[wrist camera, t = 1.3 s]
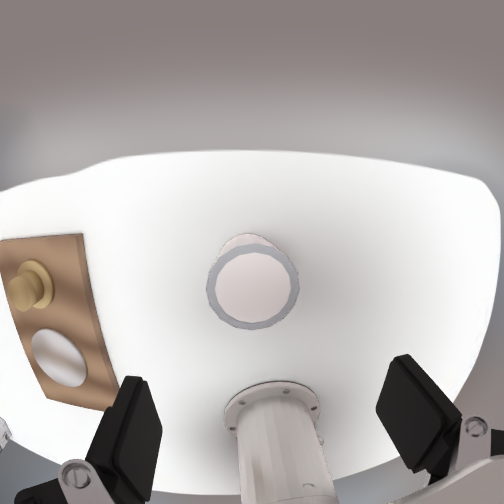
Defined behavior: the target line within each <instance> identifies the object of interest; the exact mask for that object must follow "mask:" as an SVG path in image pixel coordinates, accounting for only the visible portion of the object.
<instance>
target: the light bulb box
mask: <svg viewBox="0 0 504 504" xmlns="http://www.w3.org/2000/svg"><path fill="white" fill-rule="evenodd" d="M10 437H11V433H10V431H9V429H8V427H7V425H6V423H5V421H4V420H3V419H1V418H0V453H1V451H2V450H3V448H4V446H5V445H6V443H7V441H8V440H9V438H10Z"/></svg>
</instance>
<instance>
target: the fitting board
mask: <svg viewBox="0 0 504 504" xmlns="http://www.w3.org/2000/svg"><path fill="white" fill-rule="evenodd" d="M0 273H1V277H2V281H3V286H4V290H5V293H6V297H7V301H8V304H9V308H10V311H11V314H12V317H13V320H14V323H15V326H16V329H17V332H18V335H19V338H20V340H21V343H22V345H23V348H24V351H25V353H26V355H27V358H28V360H29V362H30V365H31V367H32V369H33V371H34V374H35V376H36V378H37V380H38V382H39V384H40V386H41V388H42V390H43V392H44V394H45V396H46V398H48V399H51V400H55V401H59V402H62V403H66V404H70V405H75V406H79V407H84V408H88V409H93V410H99V411H104V412H105V410H106V409H107V407H109V406H112V405H113V403H114V401H115V399H116V396H117V394H118V392H119V386H118V383H117V380H116V378H115V375H114V372H113V369H112V366H111V363H110V360H109V356H108V353H107V350H106V347H105V343H104V340H103V336H102V332H101V329H100V325H99V321H98V317H97V313H96V309H95V304H94V300H93V295H92V290H91V285H90V280H89V274H88V269H87V263H86V256H85V249H84V242H83V234H69V235H56V236H43V237H31V238H20V239H9V240H1V241H0Z"/></svg>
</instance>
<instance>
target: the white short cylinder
mask: <svg viewBox="0 0 504 504" xmlns="http://www.w3.org/2000/svg"><path fill="white" fill-rule="evenodd" d="M206 291H207V295H208V299H209V304H210V306H211V307H212V309H213V310H214V311H215V313H216V314H217V315H218V317H219V318H220V319H221V320H223V321H225V322H227V323H228V324H230V325H232V326H233V327H236V328H242V329H248V330H255V329H261V328H266V327H270V326H272V325H273V324H275V323H277V322H278V321H280V320H282V319H284V317H285V316H286V315H287V314H288V313H289V311H290V310H291V309H292V308H293V306H294V305H295V302H296V299H297V296H298V292H299V281H298V272H297V271H296V269H295V267H294V266H293V264H292V262H291V261H290V259H289V258H288V257H287V256H286V255H285V254H283V253H282V252H281V251H280V250H278V249H277V248H276V247H275V246H273V245H272V244H271V243H270V242H268V241H267V240H265V239H264V238H262V237H261V236H258V235H254V234H249V233H248V234H242V235H237V236H235V237H234V238H232V239H231V240H229V241H227V243H226V244H225V245H224V247H223V248H222V250H221V251H220V253H219V255H218V257H217V258H216V260H215V262H214V264H213V266H212V268H211V270H210V271H209V276H208V281H207V286H206Z"/></svg>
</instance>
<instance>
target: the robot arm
mask: <svg viewBox="0 0 504 504" xmlns="http://www.w3.org/2000/svg"><path fill="white" fill-rule="evenodd" d="M376 413H377V415H378V417H379V419H380V420H381V422H382V424H383V426H384V427H385V429H386V431H387V433H388V434H389V436H390V438H391V440H392V441H393V443H394V445H395V447H396V449H397V450H398V452H399V454H400V456H401V457H402V459H403V461H404V463H405V465H406V466H407V468H408V469H411V470H412V471H413V473H414V474H415V473H417V472H419V471H421V470H423V469H426V470H427V476H426V479H425V483H424V486H423V489H421V490H419V491H417V492H414V493H412V494H410V495H408V496H405V497H403V498H401V499H398V500H396V501H394V502H391V503H388V504H504V431H501V430H495V429H491V426H490V423H489V421H488V420H487V419H486V418H485V417H484V416H482V415H479V414H470V415H468V416H466V417H465V418H464V419H462V418H461V416H462V414H461V413H460V411H459V410H458V409H457V408H456V407H455V406H454V404H453V403H452V402H451V401H450V400H449V398H448V397H447V396H446V395H445V394H444V393H443V392H442V390H441V389H440V388H439V387H438V386H437V385H436V384H435V382H434V381H433V380H432V379H431V378H430V377H429V376H428V375H427V373H426V372H425V371H424V370H423V369H422V368H421V367H420V366H419V365H418V363H417V362H416V361H415V360H414V359H413V358H412V357H411V356H410V355H409V354H405V355H401V356H397V357H395V358H394V359H393V361H391V363H390V365H389V369H388V372H387V375H386V378H385V382H384V385H383V388H382V391H381V393H380V396H379V399H378V402H377V405H376ZM319 414H320V406H319V402H318V400H317V398H316V396H315V394H314V393H313V392H312V391H311V390H309V389H308V388H306V387H304V386H301V385H299V384H295V383H290V382H270V383H265V384H260V385H257V386H254V387H251V388H248V389H246V390H244V391H242V392H241V393H239V394H238V395H236V396H235V397H234V398H233V399H232V400H231V401H230V402H229V404H228V405H227V407H226V410H225V414H224V421H225V426H226V428H227V430H228V431H229V432H230V433H231V435H233V436H234V437H236V438H237V440H238V457H239V474H240V489H241V502H242V504H340V503H339V500H338V497H337V494H336V491H335V488H334V485H333V482H332V479H331V476H330V473H329V470H328V467H327V464H326V461H325V458H324V455H323V452H322V449H321V445H322V444H323V442H324V440H323V439H322V438H320V437H318V436H317V434H316V431H315V428H314V424H315V422H316V421H317V419H318V417H319ZM161 437H162V425H161V422H160V419H159V416H158V413H157V411H156V408H155V405H154V402H153V399H152V396H151V392H150V389H149V386H148V383H147V381H143V379H142V377H138V376H126V377H125V378H124V381H123V383H122V385H121V387H120V389H119V392H118V394H117V396H116V399H115V401H114V403H113V405H112V406H109V407H107V409H106V410H105V412H104V415H103V417H102V419H101V421H100V424H99V426H98V428H97V431H96V433H95V436H94V438H93V440H92V443H91V445H90V448H89V450H88V453H87V455H86V458H85V460H81V459H73V460H69V461H67V462H65V463H63V464H62V465H61V467H60V468H59V470H58V478H56V479H54V480H51V481H48V482H45V483H42V484H39V485H36V486H33V487H30V488H27V489H23V490H22V491H20V492H18V494H17V495H16V497H15V500H14V504H145V501H147V502H148V501H149V500H150V496H151V491H152V485H153V479H154V474H155V468H156V463H157V458H158V452H159V447H160V442H161Z"/></svg>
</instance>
